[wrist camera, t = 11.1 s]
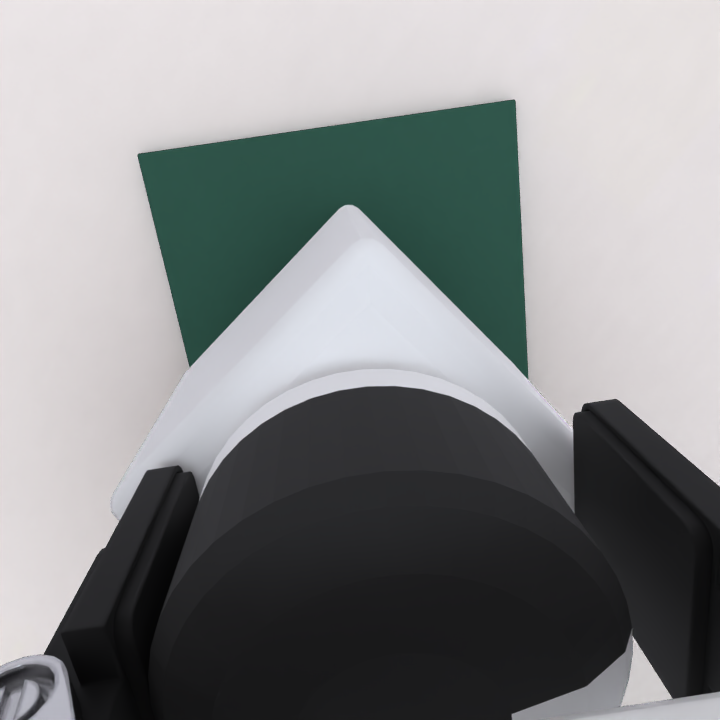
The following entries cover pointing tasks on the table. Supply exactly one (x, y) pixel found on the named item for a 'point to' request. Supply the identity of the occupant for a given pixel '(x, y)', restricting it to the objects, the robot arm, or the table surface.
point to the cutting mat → (339, 188)
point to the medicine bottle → (374, 514)
